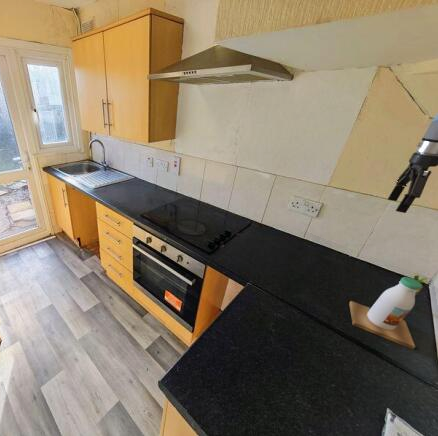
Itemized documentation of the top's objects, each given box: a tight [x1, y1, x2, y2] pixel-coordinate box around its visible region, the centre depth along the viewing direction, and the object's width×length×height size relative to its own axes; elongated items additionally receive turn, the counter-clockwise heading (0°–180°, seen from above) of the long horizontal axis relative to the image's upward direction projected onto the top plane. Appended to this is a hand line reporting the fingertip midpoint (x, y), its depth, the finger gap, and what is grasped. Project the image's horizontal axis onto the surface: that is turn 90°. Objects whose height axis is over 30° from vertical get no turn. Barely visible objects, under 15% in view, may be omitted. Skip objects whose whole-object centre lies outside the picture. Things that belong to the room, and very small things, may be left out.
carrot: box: [413, 273, 428, 296], centre depth 89 cm, size 5×5×15 cm
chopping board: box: [348, 300, 416, 350], centre depth 83 cm, size 16×12×2 cm
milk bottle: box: [367, 276, 423, 330], centre depth 78 cm, size 8×8×20 cm
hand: (395, 205), depth 93 cm, fingers open, 13 cm apart
